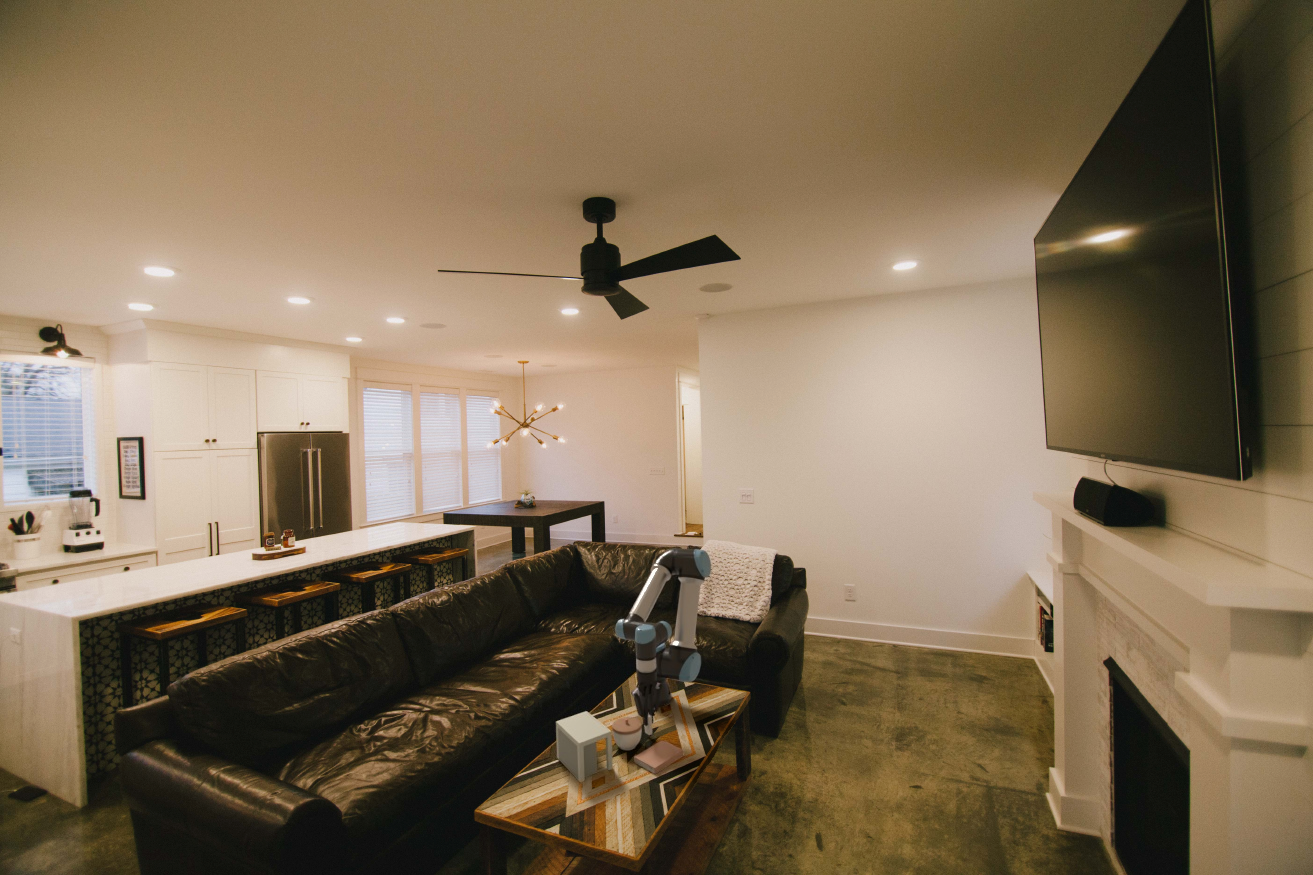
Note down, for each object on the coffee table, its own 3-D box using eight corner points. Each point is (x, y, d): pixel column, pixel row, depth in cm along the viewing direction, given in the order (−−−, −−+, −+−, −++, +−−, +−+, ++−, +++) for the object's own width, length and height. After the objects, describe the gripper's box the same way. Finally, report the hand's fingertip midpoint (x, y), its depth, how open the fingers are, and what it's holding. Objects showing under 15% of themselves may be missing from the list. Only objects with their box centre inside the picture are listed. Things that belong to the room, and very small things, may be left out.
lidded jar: (629, 757, 187) (628, 729, 187) (606, 747, 193) (605, 721, 194) (648, 743, 196) (647, 717, 196) (626, 734, 202) (625, 709, 202)
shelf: (587, 745, 195) (586, 710, 196) (612, 768, 181) (611, 730, 181) (557, 757, 188) (555, 721, 189) (580, 782, 174) (579, 743, 174)
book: (662, 746, 194) (662, 739, 194) (683, 757, 187) (683, 749, 187) (634, 764, 184) (634, 756, 184) (655, 775, 177) (654, 767, 177)
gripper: (655, 661, 207) (657, 723, 207) (626, 670, 200) (628, 734, 199) (666, 667, 201) (668, 731, 200) (637, 676, 194) (639, 743, 193)
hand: (648, 732), depth 200 cm, fingers closed
